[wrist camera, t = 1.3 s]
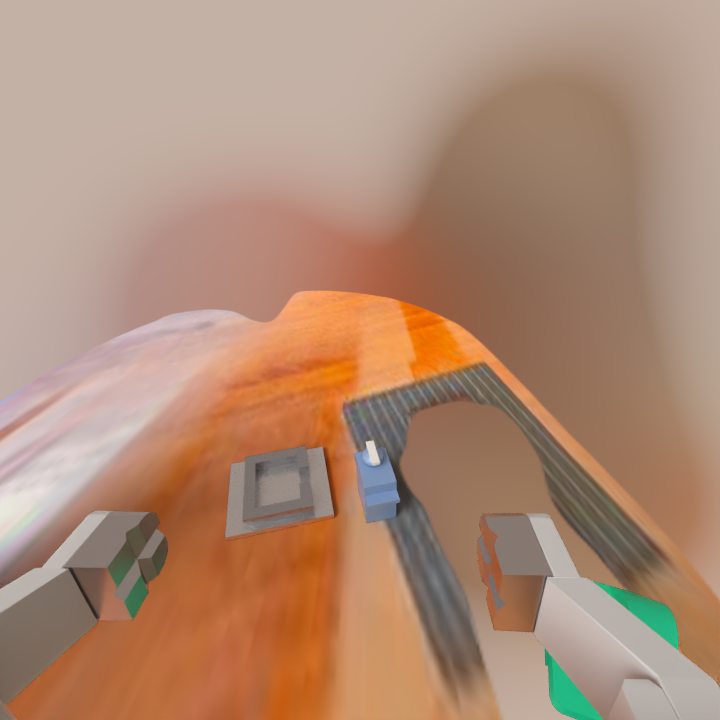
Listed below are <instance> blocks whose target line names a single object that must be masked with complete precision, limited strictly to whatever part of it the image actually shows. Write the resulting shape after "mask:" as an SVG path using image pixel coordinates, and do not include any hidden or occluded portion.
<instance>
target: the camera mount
mask: <svg viewBox="0 0 720 720" xmlns="http://www.w3.org/2000/svg"><path fill="white" fill-rule="evenodd" d="M593 582H594V581H593ZM594 583H595V584H597V585H598V586H599V587H600V588H602V589H603V590H604V591H605V592H607V593H608V594H609V595H610V596H611V597H613V598H614V599H615V600H616V601H618V602H619V603H620V604H621V605H623V606H624V607H625V608H626V609H628V610H629V611H630V612H631V613H632V614H634V615H635V616H636V617H637V618H639V619H640V620H641V621H642V622H644V623H645V624H646V625H647V626H648V627H650V628H651V629H652V630H653V631H655V632H656V633H657V634H658V635H660V636H661V637H662V638H663V639H665V640H666V641H667V642H668V643H669V644H671V645H672V646H673V647H674V648H676V649H677V650H678V632H677V626H676V622H675V619H674V616H673V614H672V612H671V610H670V609H669V608H668V607H667V606H666V605H665V604H662V603H659V602H657V601H654V600H651V599H648V598H646V597H643V596H640V595H637V594H634V593H632V592H629V591H626V590H623V589H619V588H615V587H612V586H608V585H605V584H601V583H597V582H594ZM545 665H546V666H548V671H549V693H550V699H551V702H552V704H553V706H554V707H555V708H556V709H557V710H558V711H559V712H560V713H562V714H564V715H567V716H569V717H572V718H575V719H577V720H603V718H602V717H601V716H600V715H599V714H598V712H597V711H596V710H595V709H594V707H593V706H592V705H591V704H590V703H589V701H588V700H587V699H586V698H585V696H584V695H583V694H582V693H581V692H580V690H579V689H578V688H577V687H576V685H575V684H574V683H573V682H572V681H571V679H570V678H569V677H568V676H567V674H566V673H565V672H564V671H563V670H562V668H561V667H560V666H559V665H558V664H557V662H556V661H555V660H554V659H553V657H552V656H551V655H550V654H549V653H548V651H547V650H546V649H545Z"/></svg>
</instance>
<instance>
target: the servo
mask: <svg viewBox="0 0 720 720" xmlns="http://www.w3.org/2000/svg"><path fill="white" fill-rule="evenodd" d="M366 446H367V448H366V449H365V450H364V451H362V452H357V453H354V457H355V461H356V466H357V478H358V489H359V493H360V498H361V502H362V506H363V510H364V514H365V518H366V523H371V522H376V521H380V520H385V519H389V518H394V517H396V503H400V498H399V495H398V492H397V481H396V478H395V475H394V472H393V469H392V466H391V463H390V460H389V458H388V455H387V452H386V449H385V448H378V447H375V444H374V441H368V442H366Z"/></svg>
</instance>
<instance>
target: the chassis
mask: <svg viewBox="0 0 720 720" xmlns="http://www.w3.org/2000/svg"><path fill="white" fill-rule="evenodd" d="M331 518H334V511H333V505H332V499H331V493H330V488H329V482H328V476H327V470H326V464H325V458H324V452H323V447H319V448H313V449H308V450H306V446H302V447H297V448H292V449H286V450H281V451H276V452H270V453H265V454H260V455H254V456H249V457H245V461H244V462H239V463H234V464H231V473H230V485H229V497H228V508H227V520H226V532H225V539H226V541H229V540H234V539H238V538H243V537H248V536H252V535H257V534H262V533H266V532H271V531H276V530H280V529H285V528H290V527H294V526H299V525H304V524H308V523H313V522H317V521H322V520H327V519H331Z"/></svg>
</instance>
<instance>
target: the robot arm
mask: <svg viewBox="0 0 720 720" xmlns="http://www.w3.org/2000/svg"><path fill="white" fill-rule="evenodd" d="M159 524H160V521H159V519H158V517H157V514H156V513H152V512H130V511H94V512H93V513H91V514H89V515H88V516H87V517H86V518H85V519H84V520H83V521H82V522H81V524H80V525H79V526H78V527H77V528H76V529H75V530H74V531H73V533H72V534H71V535H70V536H69V537H68V538H67V539H66V540H65V542H64V543H63V544H62V545H61V546H60V547H59V548H58V549H57V551H56V552H55V553H54V554H53V555H52V556H51V557H50V558H49V560H48V561H47V562H46V563H45V564H44V565H43V566H42V567H41V568H34V569H32V570H31V571H29V572H27V573H26V574H24V575H22V576H21V577H19V578H18V579H16V580H14V581H13V582H11V583H9V584H8V585H6V586H4V587H3V588H1V589H0V720H18V719H17V718H16V717H15V716H14V714H13V713H12V712H11V711H10V710H9V708H8V707H7V706H6V705H7V704H8V703H9V702H10V701H11V700H13V699H14V698H15V697H16V696H17V695H18V694H19V693H20V692H21V691H23V690H24V689H25V688H26V687H27V686H28V685H29V684H30V683H31V682H33V681H34V680H35V679H36V678H37V677H38V676H39V675H40V674H41V673H43V672H44V671H45V670H46V669H47V668H48V667H49V666H50V665H51V664H52V663H54V662H55V661H56V660H57V659H58V658H59V657H60V656H61V655H62V654H64V653H65V652H66V651H67V650H68V649H69V648H70V647H71V646H72V645H74V644H75V643H76V642H77V641H78V640H79V639H80V638H81V637H82V636H84V635H85V634H86V633H87V632H88V631H89V630H90V629H91V628H92V627H94V626H95V625H96V624H97V623H98V621H97V620H133V619H134V617H135V615H136V614H137V612H138V610H139V608H140V607H141V605H142V603H143V601H144V600H145V598H146V596H147V594H148V593H149V592H148V583H149V582H150V581H152V580H153V579H154V578H155V577H157V576H158V575H159V573H160V571H161V570H162V568H163V566H164V564H165V560H166V556H167V552H168V546H167V540H166V537H165V535H164V534H163V533H161V532H160V531H159V530H158V529H157V527H158V526H159ZM479 526H480V529H481V533H482V535H481V536H480V537H479V538H478V543H477V556H478V565H479V571H480V575H481V579H482V582H483V583H484V584H485V585H486V586H487V587H488V591H487V599H486V600H487V604H488V608H489V612H490V616H491V620H492V624H493V628H494V630H502V631H519V632H534V635H535V637H536V638H537V639H538V640H539V642H540V643H541V644H542V645H543V646H544V647H545V649H546V650H547V651H548V653H549V654H550V655H551V656H552V657H553V659H554V660H555V661H556V662H557V664H558V665H559V666H560V667H561V668H562V670H563V671H564V672H565V673H566V674H567V676H568V677H569V678H570V679H571V681H572V682H573V683H574V684H575V685H576V687H577V688H578V689H579V690H580V692H581V693H582V694H583V695H584V696H585V698H586V699H587V700H588V701H589V703H590V704H591V705H592V706H593V707H594V709H595V710H596V711H597V712H598V714H599V715H600V716H601V717H602V718H603V720H720V687H719V686H718V684H717V683H716V681H715V680H714V679H713V678H711V677H710V676H709V675H708V674H706V673H705V672H704V671H703V670H702V669H700V668H699V667H698V666H697V665H695V664H694V663H693V662H692V661H690V660H689V659H688V658H687V657H685V656H684V655H683V654H682V653H681V652H679V651H678V650H677V649H676V648H674V647H673V646H672V645H671V644H669V643H668V642H667V641H666V640H665V639H663V638H662V637H661V636H660V635H658V634H657V633H656V632H655V631H653V630H652V629H651V628H650V627H648V626H647V625H646V624H645V623H644V622H642V621H641V620H640V619H639V618H637V617H636V616H635V615H634V614H632V613H631V612H630V611H629V610H628V609H626V608H625V607H624V606H623V605H621V604H620V603H619V602H618V601H616V600H615V599H614V598H613V597H611V596H610V595H609V594H608V593H607V592H605V591H604V590H603V589H602V588H600V587H599V586H598V585H597V584H595V583H594V582H593V581H592V580H591V579H589V578H585V577H581V576H580V574H579V572H578V570H577V568H576V566H575V564H574V562H573V560H572V558H571V556H570V554H569V552H568V550H567V548H566V546H565V544H564V542H563V541H562V538H561V537H560V534H559V532H558V530H557V529H556V527H555V525H554V523H553V521H552V519H551V517H550V516H549V515H548V514H522V513H516V514H515V513H508V514H507V513H503V514H482V515H481V517H480V524H479Z"/></svg>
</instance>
